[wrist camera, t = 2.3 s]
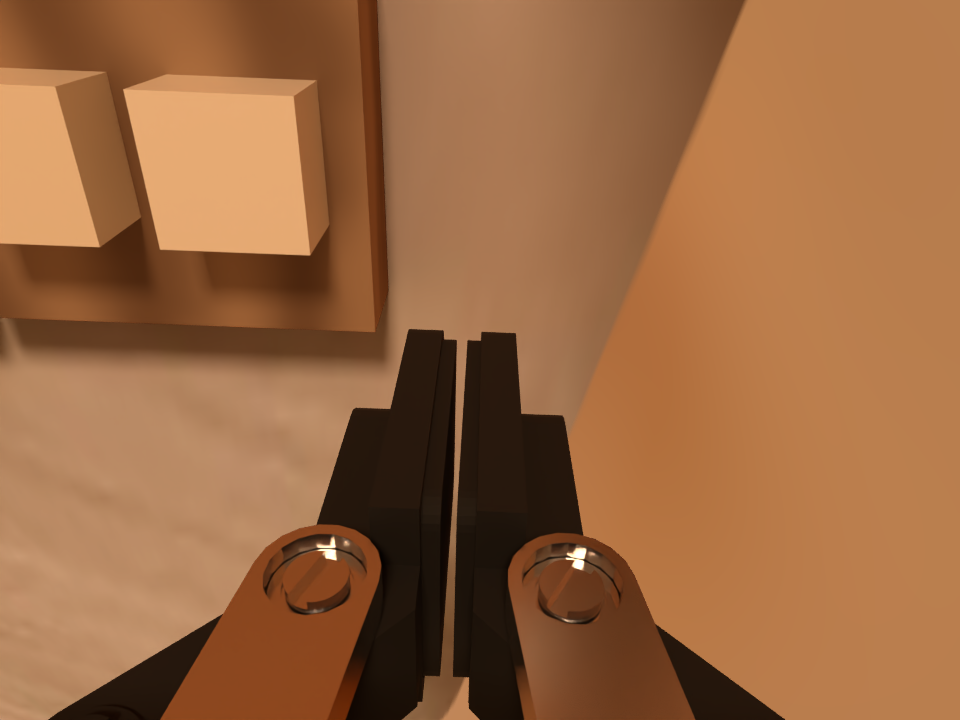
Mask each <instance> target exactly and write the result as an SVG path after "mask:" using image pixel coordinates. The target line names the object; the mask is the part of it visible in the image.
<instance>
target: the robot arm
mask: <svg viewBox="0 0 960 720" xmlns="http://www.w3.org/2000/svg"><path fill="white" fill-rule="evenodd" d="M456 352H457V341H456V340H444V331H443V330H417V329H409V331H408V334H407V339H406V343H405V347H404V352H403V356H402V361H401V365H400V369H399V374H398V378H397V383H396V387H395V391H394V396H393V400H392V405H391V409H373V408H355V409H353V411H352V414H351V416H350V419H349V423H348V426H347V429H346V432H345V435H344V439H343V442H342V445H341V448H340V451H339V455H338V458H337V461H336V464H335V467H334V471H333V474H332V477H331V480H330V483H329V487H328V490H327V493H326V496H325V499H324V503H323V506H322V509H321V512H320V515H319V519H318V522H317V525H314V526H309V527H304V528H299V529H297V530H295V531H292V532H290V533H288V534H285V535H283V536H281V537H280V538H278V539H277V540H276V541H274V542H273V543H271V544H270V545H269V546H267V547H266V548H265V549H264V550H263V552H262V553H261V554H260V555H259V557H258V558H257V559H256V560H255V562H254V563H253V565H252V566H251V568H250V570H249V571H248V573H247V575H246V577H245V578H244V580H243V582H242V583H241V585H240V587H239V588H238V590H237V592H236V593H235V595H234V597H233V598H232V600H231V602H230V603H229V605H228V607H227V608H226V610H225V612H224V613H223V614H222V615H220V616H219V617H217V618H215V619H214V620H212V621H210V622H209V623H207V624H205V625H204V626H202V627H200V628H199V629H197V630H195V631H194V632H192V633H190V634H189V635H187V636H185V637H184V638H182V639H180V640H179V641H177V642H175V643H173V644H172V645H170V646H168V647H167V648H165V649H163V650H162V651H160V652H158V653H157V654H155V655H153V656H152V657H150V658H148V659H147V660H145V661H143V662H142V663H140V664H138V665H137V666H135V667H133V668H132V669H130V670H128V671H127V672H125V673H123V674H122V675H120V676H118V677H117V678H115V679H113V680H112V681H110V682H108V683H107V684H105V685H103V686H102V687H100V688H98V689H97V690H95V691H93V692H92V693H90V694H88V695H87V696H85V697H83V698H82V699H80V700H78V701H77V702H75V703H73V704H72V705H70V706H68V707H67V708H65V709H63V710H62V711H60V712H58V713H57V714H55V715H54V716H53V717H51V718H50V719H49V720H402V719H403V718H404V717H405V716H407V715H408V714H409V713H410V712H411V711H412V710H414V709H415V708H416V707H417V703H418V702H422V700H423V689H424V678H425V676H440V669H441V655H442V642H443V628H444V614H445V600H446V586H447V572H448V558H449V544H450V530H451V516H452V502H453V487H454V453H455V402H456ZM453 677H469V701H468V703H469V709H470V710H471V711H472V712H473V713H474V714H475V715H476V716H477V717H478V718H479V719H480V720H785V719H784V718H782V717H781V716H779V715H778V714H777V713H776V712H774V711H773V710H771V709H770V708H769V707H767V706H766V705H765V704H763V703H762V702H761V701H759V700H758V699H756V698H755V697H754V696H752V695H751V694H750V693H748V692H747V691H746V690H744V689H743V688H741V687H740V686H739V685H737V684H736V683H735V682H733V681H732V680H730V679H729V678H728V677H727V676H725V675H724V674H723V673H721V672H720V671H718V670H717V669H716V668H714V667H713V666H712V665H710V664H709V663H708V662H706V661H705V660H704V659H702V658H701V657H699V656H698V655H697V654H695V653H694V652H693V651H691V650H690V649H688V648H687V647H686V646H685V645H683V644H682V643H680V642H679V641H678V640H676V639H675V638H674V637H672V636H671V635H670V634H668V633H667V632H665V631H664V630H663V629H661V628H660V627H659V626H657V625H656V624H655V623H654V620H653V618H652V616H651V614H650V611H649V608H648V606H647V604H646V601H645V599H644V597H643V594H642V592H641V590H640V587H639V585H638V583H637V580H636V578H635V575H634V574H633V572H632V570H631V569H630V567H629V566H628V564H627V562H626V561H625V560H624V559H623V558H622V557H621V556H620V555H619V554H617V553H616V552H615V551H614V550H613V549H612V548H611V547H609V546H607V545H605V544H603V543H601V542H599V541H598V540H596V539H593V538H589V537H586V536H583V531H582V525H581V519H580V513H579V506H578V500H577V494H576V488H575V481H574V475H573V469H572V463H571V457H570V451H569V444H568V438H567V432H566V426H565V421H564V417H563V416H561V415H534V414H521V404H520V389H519V374H518V359H517V344H516V333H496V332H482V333H481V341H470V340H468V343H467V359H466V375H465V391H464V407H463V423H462V439H461V455H460V471H459V487H458V505H457V532H456V575H455V617H454V660H453Z"/></svg>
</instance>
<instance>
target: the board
mask: <svg viewBox="0 0 960 720" xmlns="http://www.w3.org/2000/svg"><path fill="white" fill-rule="evenodd" d="M0 68H20V69H45V70H70V71H95V72H106V73H107V77H108V81H109V86H110V90H111V94H112V98H113V102H114V106H115V111H116V115H117V119H118V123H119V127H120V132H121V136H122V140H123V144H124V148H125V152H126V157H127V161H128V165H129V169H130V173H131V178H132V182H133V186H134V190H135V194H136V198H137V203H138V207H139V211H140V215H141V218H139V219H138V220H137V221H135V222H134V223H133V224H131V225H130V226H128V227H127V228H126V229H124V230H123V231H122V232H120V233H119V234H117V235H116V236H115V237H113V238H112V239H111V240H109V241H108V242H106V243H105V244H104V245H102V246H101V247H81V246H55V245H30V244H4V243H0V318H21V319H47V320H73V321H99V322H124V323H150V324H176V325H202V326H228V327H254V328H279V329H305V330H331V331H357V332H375V331H376V328H377V325H378V322H379V319H380V316H381V312H382V309H383V306H384V303H385V300H386V297H387V293H388V266H387V241H386V217H385V192H384V167H383V142H382V118H381V93H380V68H379V43H378V18H377V0H0ZM166 74H169V75H194V76H218V77H243V78H268V79H293V80H317V89H318V101H319V112H320V124H321V135H322V147H323V158H324V170H325V181H326V193H327V204H328V216H329V226H328V228H327V229H326V231H325V232H324V234H323V236H322V237H321V239H320V240H319V242H318V244H317V245H316V247H315V249H314V250H313V252H312V253H311V255H285V254H259V253H234V252H208V251H183V250H160V247H159V243H158V239H157V234H156V230H155V226H154V221H153V217H152V212H151V208H150V204H149V199H148V195H147V191H146V186H145V182H144V178H143V173H142V169H141V165H140V160H139V156H138V152H137V147H136V143H135V139H134V134H133V130H132V125H131V121H130V117H129V112H128V108H127V104H126V99H125V95H124V91H123V89H126V88H129V87H131V86H134V85H137V84H140V83H143V82H146V81H149V80H152V79H155V78H157V77H160V76H163V75H166Z"/></svg>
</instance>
